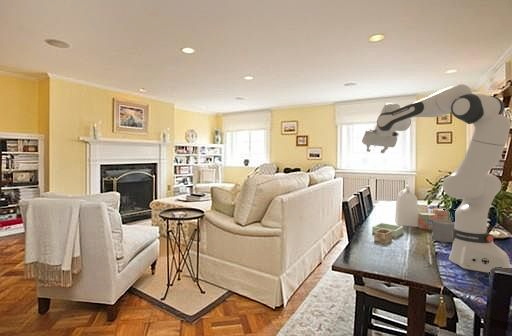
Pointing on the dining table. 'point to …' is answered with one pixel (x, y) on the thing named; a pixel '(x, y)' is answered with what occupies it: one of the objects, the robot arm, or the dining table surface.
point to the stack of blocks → (432, 218)
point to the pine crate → (383, 236)
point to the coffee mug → (443, 230)
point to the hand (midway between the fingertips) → (375, 152)
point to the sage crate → (394, 228)
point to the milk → (406, 208)
